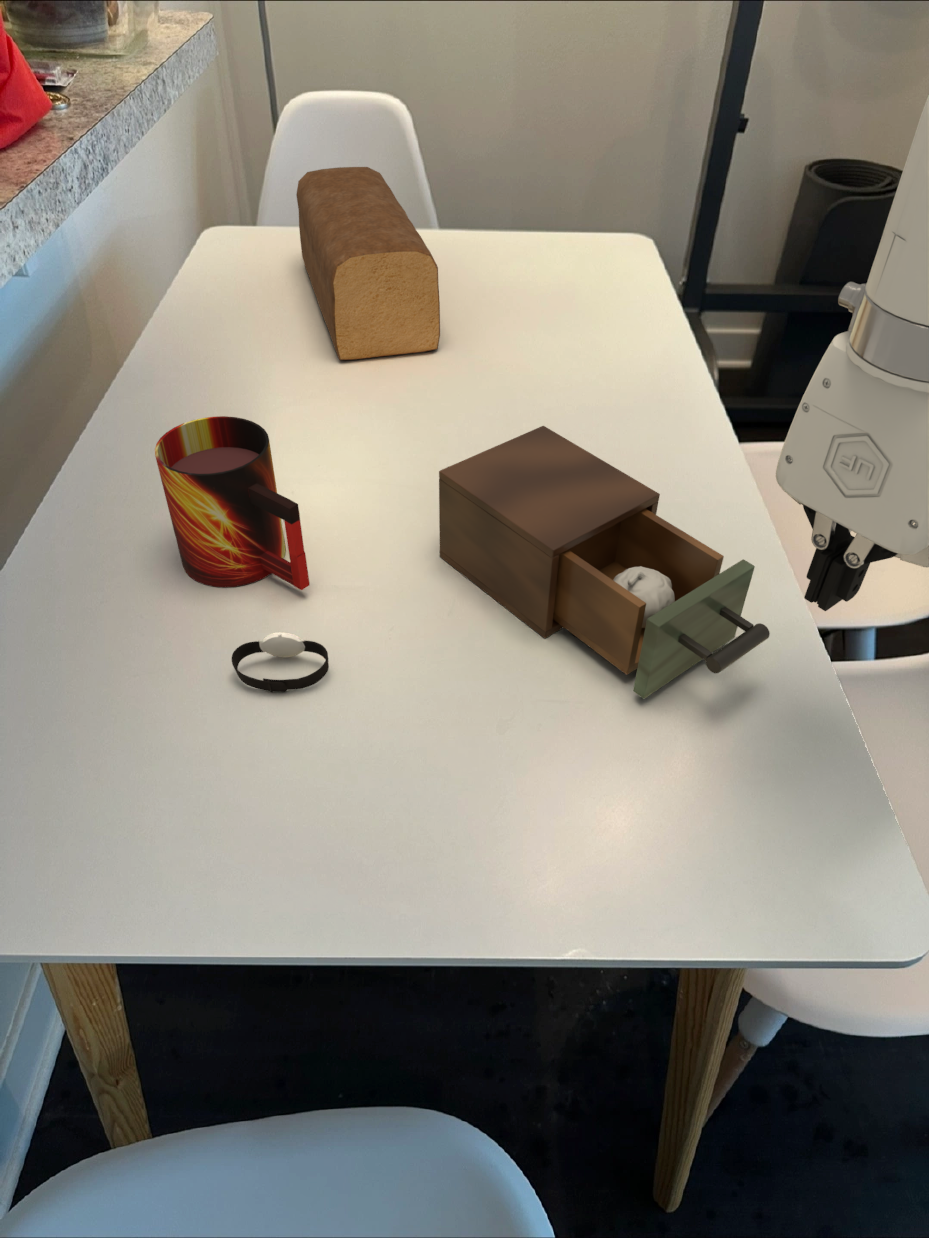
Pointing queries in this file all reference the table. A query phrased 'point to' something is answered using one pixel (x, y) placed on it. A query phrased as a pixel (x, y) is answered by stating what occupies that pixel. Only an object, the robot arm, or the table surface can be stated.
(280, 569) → the mug
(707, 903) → the table surface
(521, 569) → the cabinet
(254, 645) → the watch
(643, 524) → the drawer
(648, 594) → the garlic
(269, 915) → the table surface
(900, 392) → the robot arm
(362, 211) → the bread
